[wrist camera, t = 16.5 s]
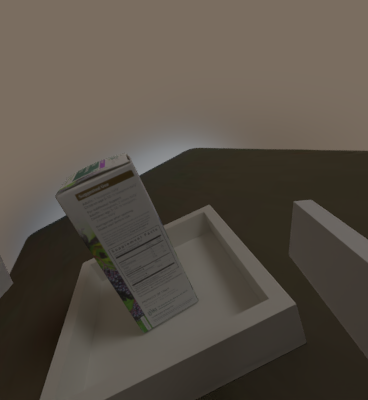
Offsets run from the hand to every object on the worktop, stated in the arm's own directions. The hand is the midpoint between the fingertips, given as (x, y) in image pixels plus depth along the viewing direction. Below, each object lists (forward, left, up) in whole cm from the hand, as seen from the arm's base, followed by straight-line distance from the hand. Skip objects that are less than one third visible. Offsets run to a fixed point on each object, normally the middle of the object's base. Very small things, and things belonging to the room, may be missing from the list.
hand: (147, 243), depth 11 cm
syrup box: (+3, -10, -12) cm, 16 cm away
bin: (+3, -10, -13) cm, 16 cm away
